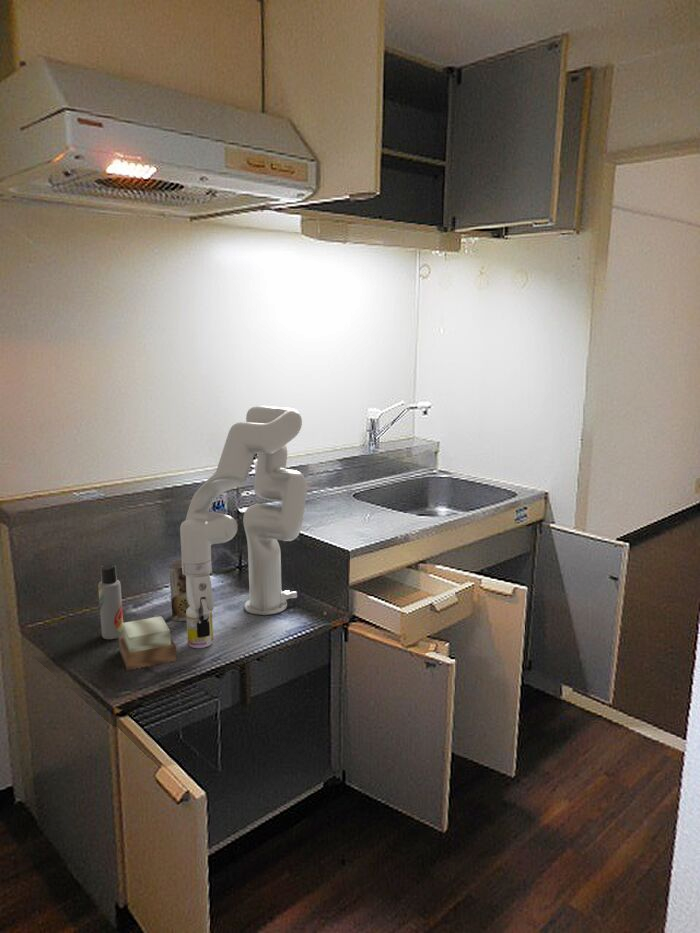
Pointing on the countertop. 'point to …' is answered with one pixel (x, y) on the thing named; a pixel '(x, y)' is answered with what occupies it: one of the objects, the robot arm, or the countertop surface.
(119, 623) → the lotion bottle
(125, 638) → the cream slab tan edge
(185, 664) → the countertop surface
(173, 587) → the coffee box
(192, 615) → the supplement bottle
